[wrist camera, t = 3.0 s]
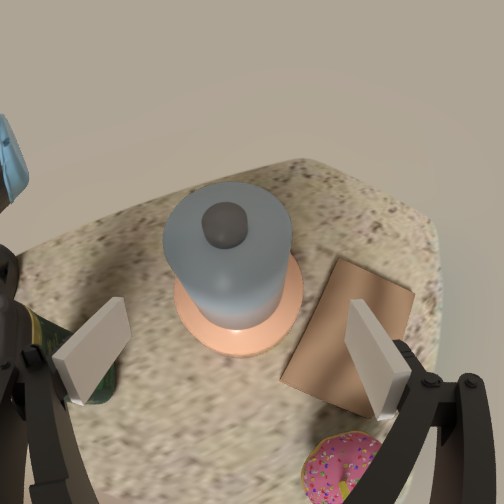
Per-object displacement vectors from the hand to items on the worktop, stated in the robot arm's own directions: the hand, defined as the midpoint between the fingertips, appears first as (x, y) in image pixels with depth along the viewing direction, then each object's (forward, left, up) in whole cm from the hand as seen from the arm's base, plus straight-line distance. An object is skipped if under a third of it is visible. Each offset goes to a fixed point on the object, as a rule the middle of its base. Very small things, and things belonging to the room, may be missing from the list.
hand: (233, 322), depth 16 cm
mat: (+10, +7, -16) cm, 20 cm away
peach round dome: (-4, +5, -16) cm, 17 cm away
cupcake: (+14, -7, -16) cm, 22 cm away
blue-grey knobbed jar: (-4, +5, -11) cm, 13 cm away
